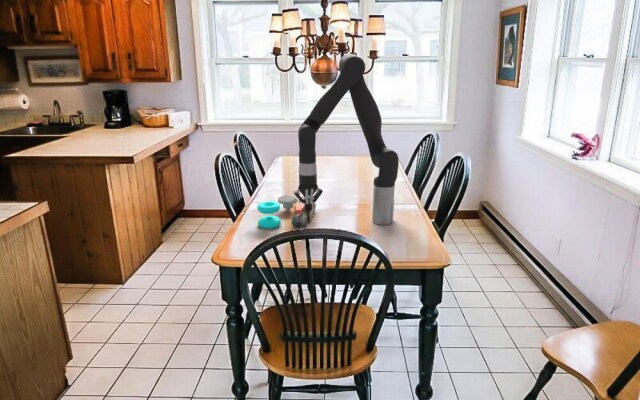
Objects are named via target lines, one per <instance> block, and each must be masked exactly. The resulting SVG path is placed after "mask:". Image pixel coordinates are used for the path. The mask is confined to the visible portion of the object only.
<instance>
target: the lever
mask: <svg viewBox="0 0 640 400" xmlns="http://www.w3.org/2000/svg"><path fill="white" fill-rule="evenodd" d="M300 197H301V198H302V199H303V200H304V196H300ZM298 202H299V204H298V206H297V208H296V210H295V209H294V212H295V211H296V214H302V212H303V210H304V208H305V203H302V202H301V201H300V200H299V199H298Z"/></svg>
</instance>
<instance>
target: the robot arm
mask: <svg viewBox="0 0 640 400" xmlns="http://www.w3.org/2000/svg"><path fill="white" fill-rule="evenodd" d="M338 62H339V63H338V69H339V75H338V77H337V79H336V80H335V82H334V83H333V84H332V85H331V86H330V88H328V90H327V91H326V92H324V94H323V95H322V96H321V97H320V98H319V100H318V101H317V103H316V104H315V105H314V107H313V109H312V110H311V112H310V113H309V114H308V116H307V117H306V118H305V120H304V121H303V122H302V123H301V125H300V126H299V128H298V132H297V136H298V137H297V138H298V149H299V152H298V170H297V171H298V187H297V190H296V191H293V195H294V196H295V197H297V198H298V201H299V200H300V201H301V202H302V203H305V210H306V211H307V212H311V210H312V203H313V202H315V203H316V202H317V201H318V199H319V198H320V197H321V196H322V193H323V192H324V190H323V189H322V188H320V187H319V185H318V173H317V172H318V169H317V154H316V145H317V144H316V143H317V141H316V140H317V139H316V138H317V137H316V135H317V133H318V131H319V129H320V128H321V127H322V125H324V124H325V123H326V121H328V119H329V117H330V116H331V114H332V113H333V111H334V110H335V108H336V107H337V106H338V104H339V103H340V101H342V99H343V98H344V96H345V95H346V94H347V93H348V92H349V94H350V98H351V102H352V105H353V108H354V109H353V110H354V111H355V115H356V118H357V120H358V123H359V126H360V128H361V131H362V132H363V136H364V138H365V140H366V145H367V147H368V151H369V156H370V159H371V162H372V164H373V166H375V167H376V168H378V176H375V177H374V179H373V188H372V189H373V193H372V214H371V215H372V217H371V218H372V220H371V221H372V223H374V224H376V225H381V226H386V225H387V226H388V225H393V223H394V211H395V187H396V181H397V179H398V173H399V163H400V162H399V161H400V160H399V155H398V153H397V152H396V151H394V150H393V149H390V148H388V147H387V145H386V144H385V141H384V139H383V136H382V125H383V124H382V115H381V111H380V110H379V108H378V107H379V106H378V104H377V103H376V100H375V99H374V96H373V95H372V93H371V91H370V89H369V87H368V85H367V84H366V81H365V78H364V73H365V71H366V62H365V61H364V59H362V57H360V56H358V55H356V54H354V53H347V54H346V53H345V54H344V55H342V56H341V58H340V60H339V61H338ZM301 195H302V196H301ZM301 197H304V200H303V199H302V198H301Z"/></svg>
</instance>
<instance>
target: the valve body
mask: <svg viewBox="0 0 640 400" xmlns="http://www.w3.org/2000/svg"><path fill="white" fill-rule="evenodd" d="M298 204H299V201H298V202H297V203H295V206H294V215H293V217H292V218H291V225H292V227H294V228H295V229H301V228H307V227H308V223H309V224H311V222H312V220H313V219H314V217H315V214H316V207H317V205H316V202H313V203H312V210H311V212H307V211H306V210H305V208H304V210H303V212H302V214H296V211H295V210H296V208H297V206H298Z"/></svg>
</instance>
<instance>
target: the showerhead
mask: <svg viewBox="0 0 640 400" xmlns="http://www.w3.org/2000/svg"><path fill="white" fill-rule="evenodd" d="M298 202H299V199H298V198H297V197H296V196H295V195H292V194H291V195H287V194H286V195H280V196H278V198H277V203H279V204H280V205H282V207H283V209H285V212H287V213H288V212H291V209H293V207H294V204H297V203H298Z"/></svg>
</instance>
